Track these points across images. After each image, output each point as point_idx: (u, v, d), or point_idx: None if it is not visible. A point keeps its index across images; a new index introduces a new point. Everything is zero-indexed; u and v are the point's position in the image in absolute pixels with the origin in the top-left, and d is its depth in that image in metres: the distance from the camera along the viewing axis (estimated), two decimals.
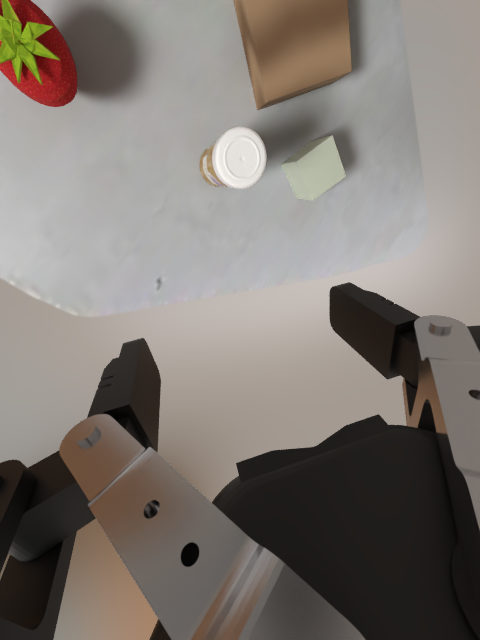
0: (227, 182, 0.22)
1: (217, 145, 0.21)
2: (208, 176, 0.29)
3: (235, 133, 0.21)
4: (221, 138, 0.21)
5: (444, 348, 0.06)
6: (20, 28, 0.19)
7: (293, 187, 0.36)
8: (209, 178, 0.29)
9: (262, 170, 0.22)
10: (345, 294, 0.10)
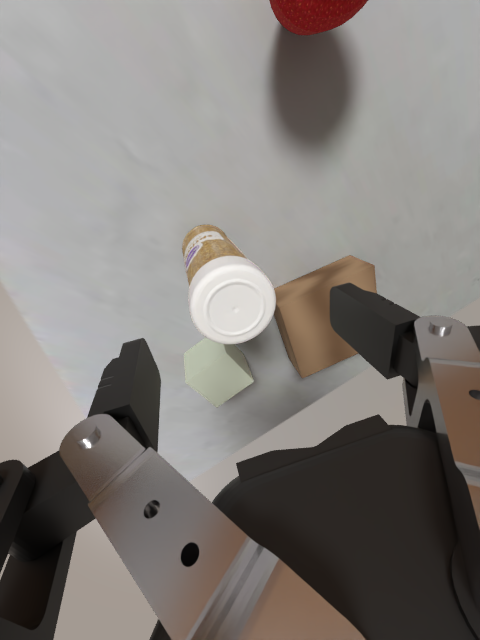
0: (197, 289, 0.12)
1: (250, 267, 0.12)
2: (195, 241, 0.19)
3: (267, 294, 0.13)
4: (260, 273, 0.13)
5: (444, 348, 0.06)
6: None
7: (195, 347, 0.29)
8: (192, 242, 0.19)
9: (221, 341, 0.14)
10: (345, 294, 0.10)
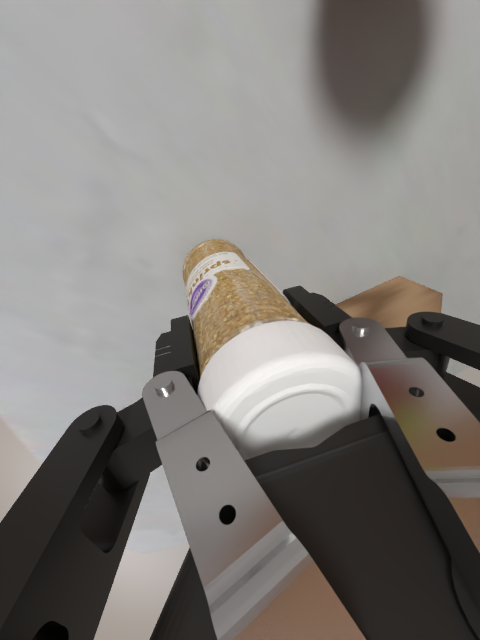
0: (221, 407, 0.06)
1: (333, 356, 0.06)
2: (203, 269, 0.13)
3: (359, 403, 0.07)
4: (351, 367, 0.06)
5: (356, 348, 0.07)
6: None
7: None
8: (199, 271, 0.13)
9: None
10: (292, 297, 0.10)
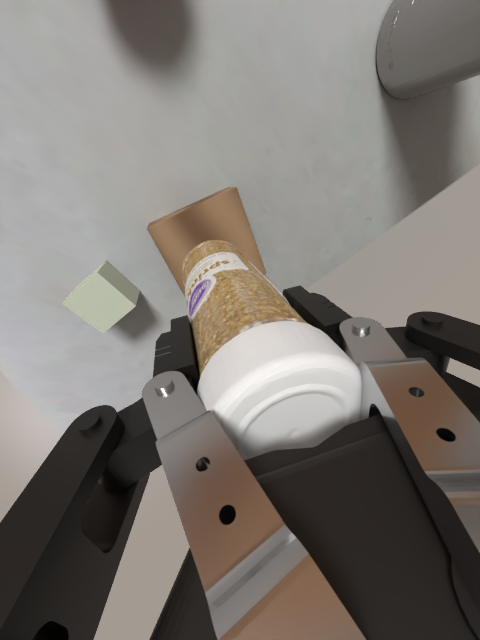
0: (220, 408, 0.06)
1: (333, 357, 0.06)
2: (202, 270, 0.12)
3: (358, 403, 0.07)
4: (351, 367, 0.06)
5: (356, 348, 0.07)
6: None
7: None
8: (198, 271, 0.13)
9: None
10: (292, 297, 0.10)
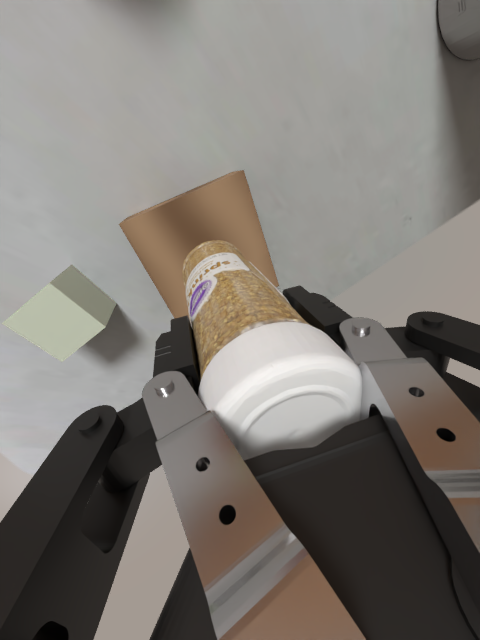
0: (222, 409, 0.06)
1: (334, 358, 0.06)
2: (203, 270, 0.12)
3: (360, 404, 0.07)
4: (352, 368, 0.06)
5: (356, 348, 0.07)
6: None
7: None
8: (199, 271, 0.13)
9: None
10: (292, 297, 0.10)
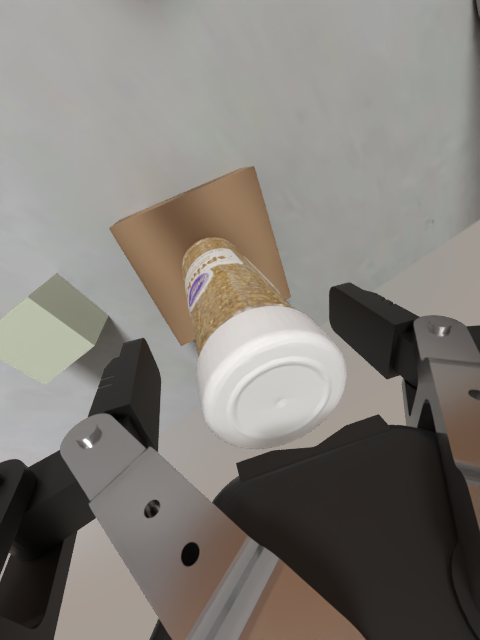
0: (216, 377, 0.07)
1: (311, 333, 0.07)
2: (201, 265, 0.14)
3: (335, 375, 0.08)
4: (327, 342, 0.07)
5: (443, 348, 0.06)
6: None
7: None
8: (197, 266, 0.14)
9: (254, 448, 0.08)
10: (345, 294, 0.10)
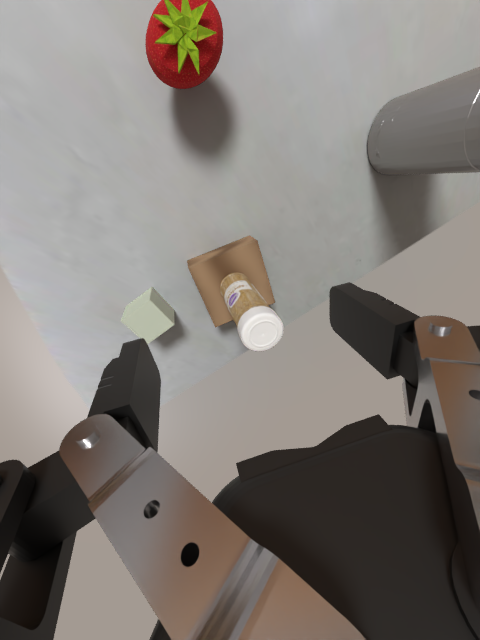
0: (245, 324, 0.25)
1: (271, 314, 0.25)
2: (233, 288, 0.32)
3: (279, 326, 0.26)
4: (276, 316, 0.26)
5: (444, 348, 0.06)
6: (193, 38, 0.22)
7: (134, 301, 0.39)
8: (231, 288, 0.32)
9: (255, 350, 0.27)
10: (345, 294, 0.10)
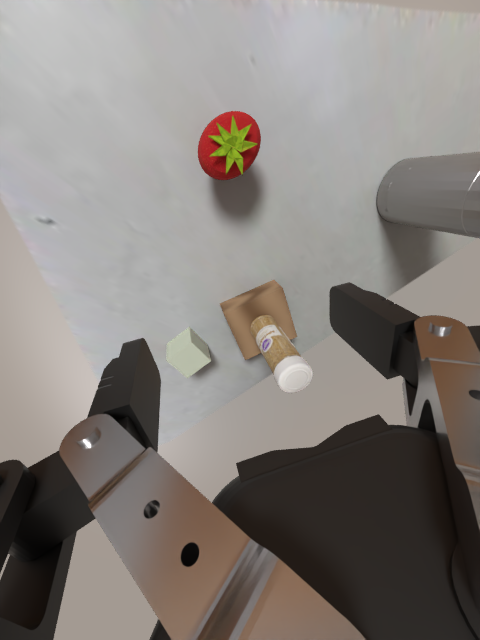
0: (282, 373, 0.30)
1: (303, 364, 0.31)
2: (265, 333, 0.37)
3: (309, 373, 0.31)
4: (307, 366, 0.31)
5: (444, 348, 0.06)
6: (239, 150, 0.27)
7: (174, 339, 0.44)
8: (263, 333, 0.38)
9: (289, 392, 0.32)
10: (345, 294, 0.10)
